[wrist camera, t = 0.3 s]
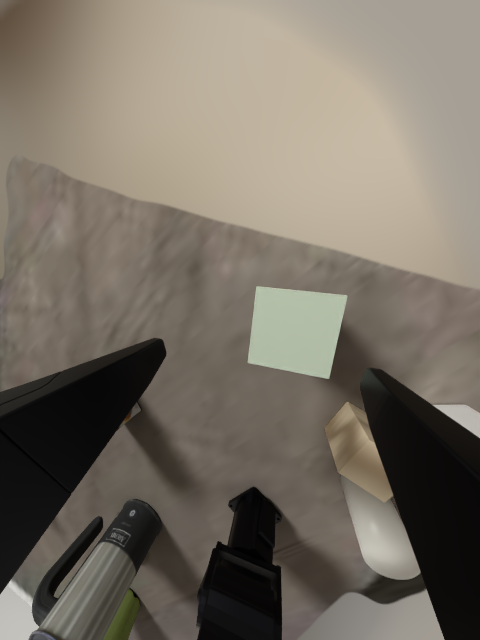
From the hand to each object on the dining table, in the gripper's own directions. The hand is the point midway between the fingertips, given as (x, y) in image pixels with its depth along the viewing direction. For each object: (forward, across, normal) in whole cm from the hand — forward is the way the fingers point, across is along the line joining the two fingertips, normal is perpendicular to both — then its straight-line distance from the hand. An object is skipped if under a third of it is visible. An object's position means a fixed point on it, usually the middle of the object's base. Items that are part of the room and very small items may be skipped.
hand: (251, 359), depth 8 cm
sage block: (+15, -2, +4) cm, 16 cm away
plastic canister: (+8, -14, +26) cm, 30 cm away
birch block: (+11, -12, +18) cm, 24 cm away
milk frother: (+1, +24, +52) cm, 57 cm away
